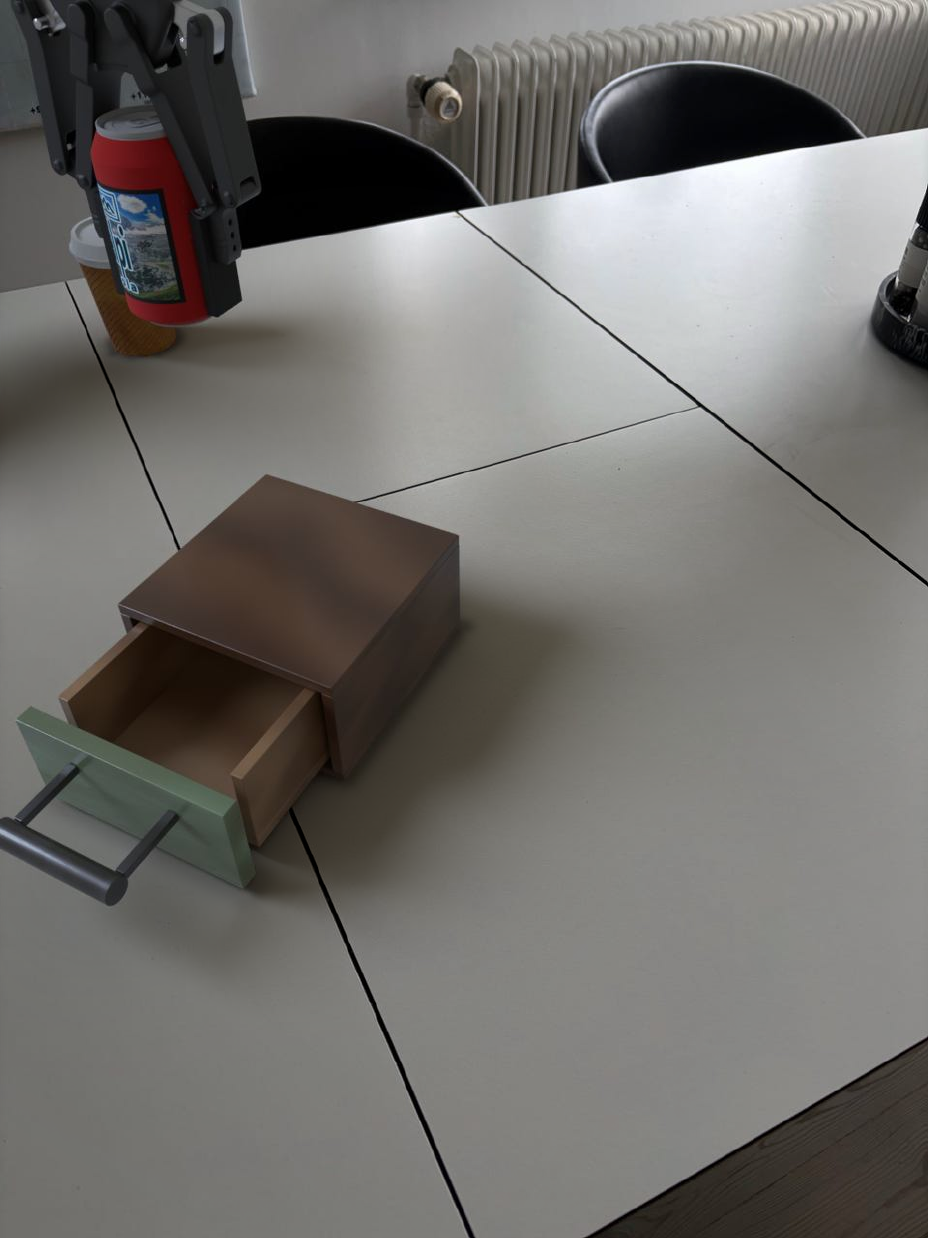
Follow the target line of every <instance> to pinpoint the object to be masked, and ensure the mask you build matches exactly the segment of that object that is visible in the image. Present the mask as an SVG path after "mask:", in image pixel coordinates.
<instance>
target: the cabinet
mask: <svg viewBox="0 0 928 1238" xmlns="http://www.w3.org/2000/svg"><path fill="white" fill-rule="evenodd" d="M460 558H461V556H460V535H459V534H457V533H454V532H452V531H447V530H445V529H441V528H438V527H435V526H431V525H430V524H425V523H422V522H420V521H417V520H413V519H410V518H407V517H404V516H400V515H397V514H394V513H392V512H387V511H385V510H381V509H378V508H375V507H371V506H369V505H365V504H363V503H360V502H356V501H353V500H351V499H350V500H349V499H347V498H343V497H340V496H337V495H334V494H331V493H327V492H324V491H321V490H318V489H315V488H312V487H309V486H306V485H302V484H300V483H296V482H292V481H289V480H287V479H283V478H280V477H277V476H274V475H272V474H271V475H270V474H267V473H265V474H264V475H263V476H262V477H260V478H259V480H257V481H256V482H255V483H254V484H253V485H252V486H251V487H250V488H248V489H247V490H246V491H244V492H243V493H242V494H241V495H240V496H239V497H238V498H237V499H236V500H234V501H233V502H232V503H231V504H229V506H228V507H226V508H225V509H224V510H223V511H221V513H220V514H218V515H217V516H216V517H215V518H214V519H213V520H211V522H209V523H208V524H207V525H206V526H204V528H202V529H201V530H200V531H199V532H197V534H196V535H194V536H193V537H192V538H191V539H190V540H188V541H187V543H185V544H184V545H183V546H182V547H181V548H180V549H179V550H177V551H176V552H175V553H174V554H173V555H171V556H170V557H169V558H168V559H167V560H166V561H165V562H163V564H161V565H160V566H159V567H158V568H156V570H155V571H153V572H152V573H151V574H150V575H149V576H148V577H147V578H145V579H144V580H143V581H142V582H141V583H140V584H139V585H138V586H137V587H135V588H134V589H132V591H130V593H128V594H127V595H126V596H125V597H124V598H122V600H120V601H119V602H118V603H117V607H118V610H119V613H120V617H121V620H122V623H123V626H124V629H125V633H126V634H127V633H128V632H129V631H130V630H131V629H132V628H134V627H135V626H136V625H137V624H138V623H139V622H140V621H141V622H144V623H146V624H149V625H151V626H154V627H156V628H159V629H161V630H164V631H166V632H169V633H171V634H174V635H176V636H179V637H181V638H184V639H187V640H189V641H192V642H194V643H197V644H199V645H202V646H204V647H207V648H209V649H212V650H214V651H217V652H219V653H222V654H224V655H227V656H229V657H232V658H234V659H237V660H239V661H242V662H244V663H247V664H249V665H252V666H254V667H257V668H259V669H262V670H264V671H267V672H269V673H272V674H275V675H277V676H280V677H282V678H285V679H287V680H290V681H292V682H295V683H297V684H300V685H302V686H305V687H307V688H310V689H312V690H315V691H317V692H320V693H322V694H321V695H322V701H323V708H324V715H325V721H326V728H327V735H328V741H329V748H330V755H331V756H330V757H329V759H328V760H327V761H326V763H325V764H324V765H323V766H322V768H321V769H320V770H319V771H321V772H323V773H326V774H328V775H330V776H333V777H335V778H338V779H339V780H342V781H345V780H346V779H347V777H348V776H349V775H350V774H351V772H352V771H353V770H354V768H355V766H356V765H358V763H359V761H360V760H361V759H362V758H363V756H364V755H365V754H366V752H367V751H368V750H369V748H370V747H371V746H372V744H373V743H374V741H376V739H377V738H378V736H379V735H380V733H381V732H382V731H383V730H384V728H385V727H386V726H387V724H388V723H389V722H390V720H391V719H392V718H393V717H394V715H395V714H396V712H397V711H398V710H399V708H400V707H401V706H402V704H403V703H405V701H406V699H407V698H408V696H410V695H411V693H412V691H413V690H414V688H415V687H416V686H417V684H418V683H419V681H420V680H421V679H422V678H423V677H424V675H425V674H426V673H427V671H428V670H429V669H430V668H431V666H432V665H433V663H434V662H435V661H436V659H437V658H438V656H439V655H440V654H441V653H442V651H443V650H444V649H445V648H446V646H447V644H448V643H449V642H450V641H451V639H452V638H453V637H454V635H455V634H456V633H457V632H458V630H459V629H460V627H461V567H460V565H461V564H460V562H461V560H460Z"/></svg>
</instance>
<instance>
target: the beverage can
mask: <svg viewBox="0 0 928 1238" xmlns="http://www.w3.org/2000/svg"><path fill="white" fill-rule="evenodd" d="M95 125H96V132H95V136H94V140H93V144H92V148H91V154H90V155H91V159H92V163H93V167H94V172H95V176H96V180H97V184H98V188H99V193H100V197H101V201H102V205H103V209H104V213H105V217H106V221H107V225H108V229H109V233H110V237H111V241H112V245H113V249H114V253H115V257H116V261H117V264H118V268H119V272H120V276H121V280H122V284H123V287H124V291H125V295H126V299H127V303H128V306H129V309H130V310H131V312H132V313H133V314H135V315H136V316H137V317H139V318H142V319H144V320H147V321H150V322H152V323H153V324H156V325H160V326H165V327H175V328H184V327H190V326H195V325H197V324H200V323H204V322H206V321H209V320H210V319H211V318H213V317H212V316H208V312H207V307H206V301H205V296H204V291H203V286H202V281H201V276H200V270H199V265H198V260H197V255H196V250H195V245H194V240H193V234H192V229H191V224H190V219H189V213H191V211H192V210H194V209H196V208H197V207H198V204H197V202H196V200H195V198H194V196H193V193H192V191H191V189H190V187H189V184H188V182H187V180H186V178H185V175H184V173H183V171H182V169H181V167H180V164H179V162H178V160H177V158H176V155H175V153H174V151H173V149H172V147H171V144H170V142H169V140H168V138H167V135H166V133H165V131H164V129H163V127H162V124H161V122H160V120H159V118H158V115H157V113H156V111H155V109H154V106H153V104H140V105H131V106H125V107H120V109H116V110H113V111H110V112H107V113H105V114H103V115H101V116H100V117H98V118H97V120H96V122H95ZM212 188H214V185H213V184H212Z"/></svg>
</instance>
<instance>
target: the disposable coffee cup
mask: <svg viewBox="0 0 928 1238" xmlns="http://www.w3.org/2000/svg"><path fill="white" fill-rule="evenodd" d="M68 249H69V252H70V254H71V255H72V256H73V257H74V259H75V260H76V261H77V262H78V264H79V267H80V269H81V272H82V273H83V276H84V279H85V281H86V284H87V286H88V288H89V291H90V293H91V295H92V298H93V300H94V301H93V302H94V303H95V306H96V308H97V310H98V313H99V315H100V318H101V320H102V322H103V325H104V328H105V330H106V333H107V335H108V338H109V340H110V342H111V345H112V347H113V349H114V350H115V351H116V352H118V353H120V354H122V355H126V356H136V357H137V356H140V357H141V356H150V355H154V354H157V353H160V352H163V351H164V350H167V349H168V348H170V347H171V346H172V345H173V344H174V343H175V341H176V339H177V336H176V327H165V326H160V325H156V324H153V323H152V322H150V321H147V320H144V319H142V318H139V317H137V316H136V315H135V314H133V313H132V312H131V310H130V309H129V306H128V303H127V299H126V296H125V295H121V294H117V291H116V287H115V284H114V280H113V276H112V272H111V268H110V264H109V260H108V256H107V252H106V248H105V244H104V240H103V238H99V236H98V234H97V232H96V230H95V227H94V223H93V219H92V216H89V217H87V218H84V219H82V220H81V221H79V222H77V223H76V224H75V225H74V226H73V227H72V229H71V231H70V241H69V244H68Z"/></svg>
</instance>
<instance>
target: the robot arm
mask: <svg viewBox="0 0 928 1238" xmlns="http://www.w3.org/2000/svg"><path fill="white" fill-rule="evenodd" d="M10 7H11V9H12V12H13V13H14V17H15V19H16V21H17V23H18V24H17V25H18V26H19V28H20V30H21V33H22V35H23V38H24V40H25V42H26V48H27V52H28V57H29V63H30V68H31V72H32V77H33V83H34V87H35V93H36V97H37V101H38V107H39V111H40V116H41V122H42V125H43V126H42V128H43V131H44V137H45V141H46V146H47V151H48V157H49V161H50V165H51V168H52V170H53V171H54V173H56V174H57V175H59V176H60V177H61V176H62V177H63V176H66V175H68V176H69V177H71V178H73V179H75V180H76V183H77V185H78V186H79V188H80V189H82V190H83V191H84V192H85V196H86V199H87V200H86V201H87V204H88V208H89V212H90V214H91V216H90V217H92V219H93V223H94V227H95V230H96V232H97V234H98V236H99V238H103V240H104V244H105V248H106V252H107V256H108V260H109V264H110V268H111V272H112V276H113V280H114V284H115V287H116V291H117V294H121V295H125V291H124V287H123V284H122V280H121V276H120V272H119V268H118V264H117V261H116V257H115V253H114V249H113V245H112V241H111V237H110V233H109V229H108V225H107V221H106V217H105V213H104V209H103V205H102V201H101V197H100V193H99V188H98V184H97V180H96V176H95V172H94V167H93V163H92V159H91V155H90V154H91V148H92V144H93V140H94V136H95V132H96V125H95V122H96V120H97V118H98V117H100V116H101V115H103V114H105V113H107V112H110V111H113V110H116V109H120V108H121V92H122V91H121V90H122V78H123V75H124V74H125V73H127V74H129V75H132V77H133V80H134V82H135V84H136V86H137V88H138V90H139V91H140V93H141V94H142V95H144V96H146V97H148V98H149V100H150V102H151V105H153V106H154V109H155V111H156V113H157V115H158V118H159V120H160V122H161V124H162V127H163V129H164V131H165V133H166V135H167V138H168V140H169V142H170V144H171V147H172V149H173V151H174V153H175V155H176V158H177V160H178V162H179V164H180V167H181V169H182V171H183V173H184V175H185V178H186V180H187V182H188V184H189V187H190V189H191V191H192V193H193V196H194V198H195V200H196V202H197V204H198V207H197V208H196V209H194V210H192V211H191V213H189V219H190V224H191V229H192V234H193V240H194V245H195V250H196V255H197V260H198V265H199V270H200V276H201V281H202V286H203V291H204V296H205V301H206V307H207V312H208V316H212V317H211V318H217V319H218V318H220V317H221V316H223V315H224V314H226V313H227V312H228V311H230V310H231V309H233V308H234V307H236V306H237V305H238V304H240V303H241V302H243V296H242V289H241V284H240V283H241V282H240V277H239V271H238V266H237V260H238V259H240V258H241V256H242V252H243V248H242V241H241V235H240V229H239V223H238V215H237V208H238V207H240V206H241V205H243V204H244V203H246V202H248V201H250V200H251V199H253V198H255V197H257V196H259V194H261V191H262V184H261V179H260V175H259V171H258V165H257V162H256V157H255V152H254V148H253V144H252V143H253V142H252V139H251V135H250V131H249V126H248V122H247V121H248V120H247V116H246V113H245V112H246V111H245V107H244V104H243V99H242V94H241V91H240V85H239V82H238V81H239V80H238V77H237V73H236V69H235V64H234V60H233V59H234V58H233V33H234V20H233V16H232V14H231V12H230V11H229V9H227V8H226V7H225V6H222V5H221V6H217V7H214V8H212V9H207V8H205V7H203V6H200V5H198V4H196V3H194V2H191V1H190V0H10ZM180 33H181V35H182V37H179V34H180ZM164 66H166V67H167V68H166V70H164V71H162V72H157V70H159V69H161V68H164ZM68 145H70V148H68ZM212 185H213V188H212ZM125 296H126V295H125Z"/></svg>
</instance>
